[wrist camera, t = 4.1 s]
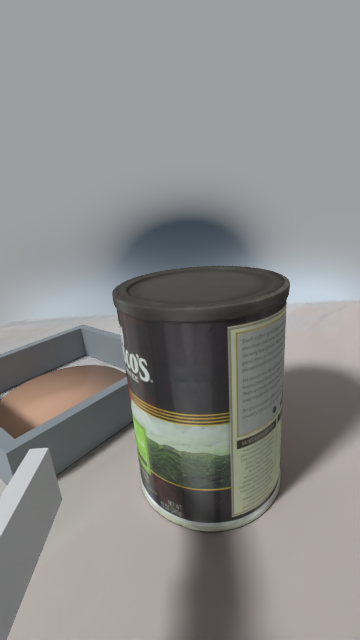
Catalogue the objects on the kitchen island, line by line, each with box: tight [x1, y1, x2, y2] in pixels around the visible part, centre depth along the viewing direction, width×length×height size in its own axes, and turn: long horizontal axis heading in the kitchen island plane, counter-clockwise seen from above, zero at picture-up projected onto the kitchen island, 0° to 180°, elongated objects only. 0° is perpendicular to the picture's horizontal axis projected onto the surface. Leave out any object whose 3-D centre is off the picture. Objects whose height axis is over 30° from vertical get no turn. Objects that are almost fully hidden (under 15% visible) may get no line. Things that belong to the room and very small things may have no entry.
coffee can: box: [112, 266, 290, 532], centre depth 21 cm, size 10×10×14 cm
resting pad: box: [0, 365, 127, 439], centre depth 34 cm, size 14×14×1 cm
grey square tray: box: [0, 325, 133, 485], centre depth 33 cm, size 18×18×4 cm
